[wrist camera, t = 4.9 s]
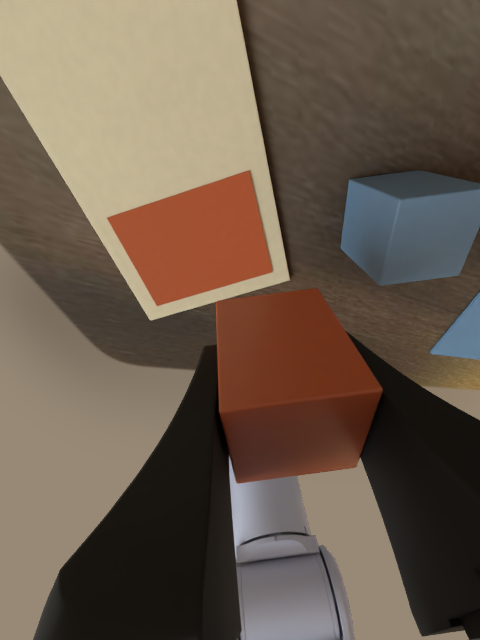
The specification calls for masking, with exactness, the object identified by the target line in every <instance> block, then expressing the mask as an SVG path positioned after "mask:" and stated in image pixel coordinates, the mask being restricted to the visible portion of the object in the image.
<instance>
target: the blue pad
mask: <svg viewBox="0 0 480 640" xmlns="http://www.w3.org/2000/svg"><path fill="white" fill-rule="evenodd" d="M430 353H431V354H436V355H445V356H454V357H462V358H471V359H480V292H479V293H478V294H477V295H476V297H475V298H474V299H473V300H472V301H471V303H470V304H469V305H468V306H467V307H466V309H465V310H464V311H463V312H462V313H461V315H460V316H459V317H458V318H457V320H456V321H455V322H454V323H453V324H452V326H451V327H450V328H449V329H448V330H447V332H446V333H445V334H444V335H443V336H442V338H441V339H440V340H439V341H438V342H437V344H436V345H435V346H434V347H433V348H432V350H431V351H430Z"/></svg>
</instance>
